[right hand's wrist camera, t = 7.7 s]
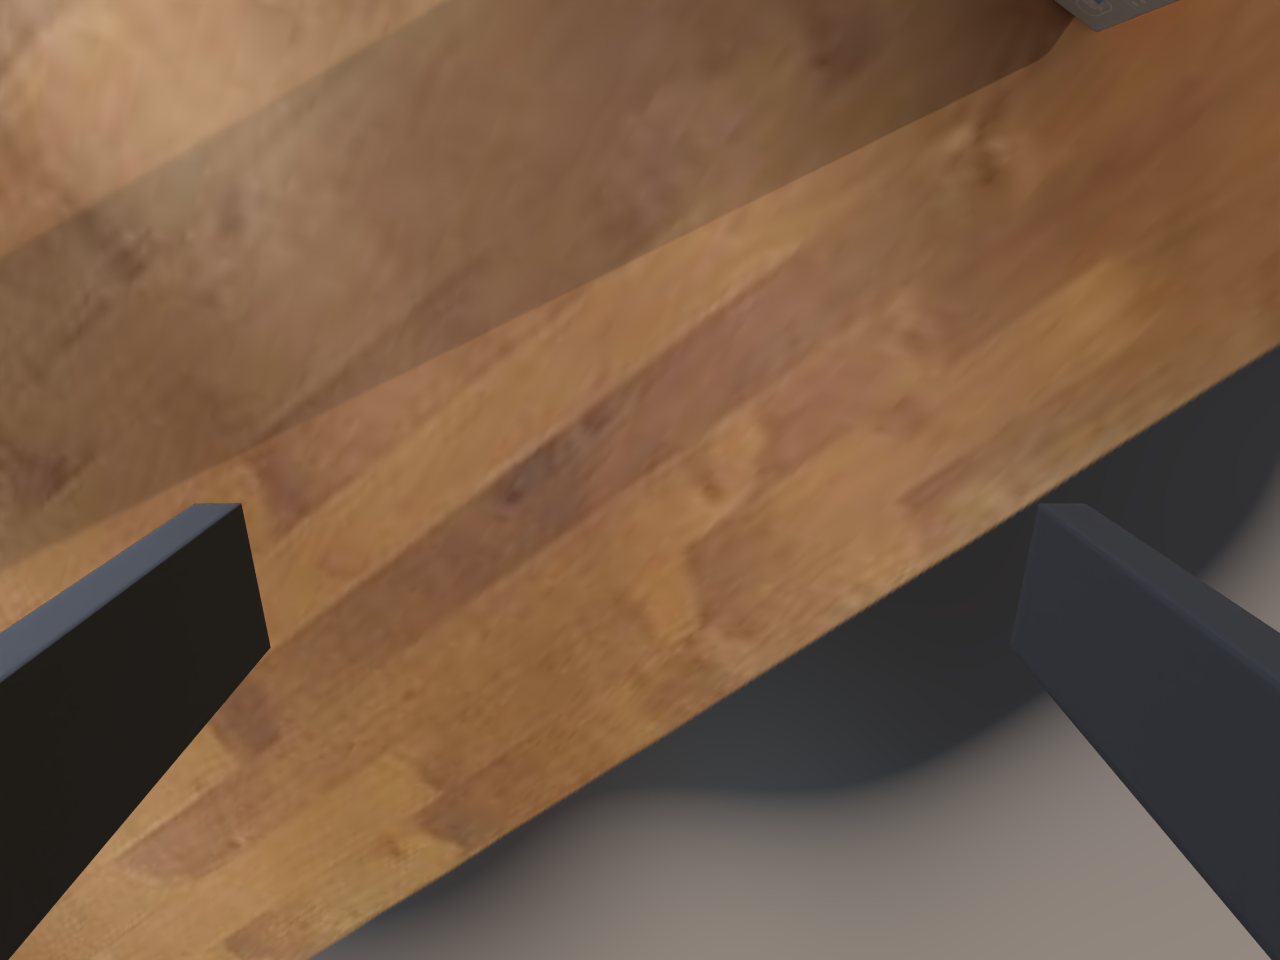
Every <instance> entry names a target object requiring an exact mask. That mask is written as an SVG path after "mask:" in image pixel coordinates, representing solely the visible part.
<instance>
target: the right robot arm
mask: <svg viewBox="0 0 1280 960" xmlns="http://www.w3.org/2000/svg"><path fill="white" fill-rule="evenodd" d="M269 649H270V642H269V637H268V633H267V628H266V623H265V618H264V613H263V608H262V603H261V598H260V593H259V588H258V583H257V578H256V574H255V569H254V564H253V559H252V554H251V549H250V544H249V539H248V534H247V529H246V524H245V519H244V515H243V510H242V505H241V504H193V505H192V506H190V507H189V508H187V509H186V510H184V511H183V512H181V513H180V514H178V515H177V516H175V517H174V518H172V519H171V520H169V521H168V522H166V523H165V524H163V525H162V526H160V527H159V528H157V529H156V530H154V531H153V532H151V533H150V534H148V535H147V536H145V537H144V538H142V539H141V540H139V541H138V542H136V543H135V544H133V545H132V546H130V547H129V548H127V549H126V550H124V551H123V552H121V553H120V554H118V555H117V556H115V557H114V558H112V559H111V560H109V561H108V562H106V563H105V564H103V565H102V566H100V567H99V568H97V569H96V570H94V571H93V572H91V573H90V574H88V575H87V576H85V577H84V578H82V579H81V580H79V581H78V582H76V583H75V584H73V585H72V586H70V587H69V588H67V589H66V590H64V591H63V592H61V593H60V594H58V595H57V596H55V597H54V598H52V599H51V600H49V601H48V602H46V603H45V604H43V605H42V606H40V607H39V608H37V609H36V610H34V611H33V612H31V613H30V614H28V615H27V616H25V617H24V618H22V619H21V620H19V621H18V622H16V623H15V624H13V625H12V626H10V627H9V628H7V629H6V630H4V631H3V632H1V633H0V960H9V958H10V957H11V956H12V955H13V954H14V952H15V951H16V950H17V949H18V948H19V947H20V945H21V944H22V943H23V942H24V941H25V939H26V938H27V937H28V936H29V935H30V933H31V932H32V931H33V930H34V929H35V927H36V926H37V925H38V924H39V923H40V921H41V920H42V919H43V918H44V917H45V916H46V914H47V913H48V912H49V911H50V910H51V908H52V907H53V906H54V905H55V904H56V902H57V901H58V900H59V899H60V898H61V896H62V895H63V894H64V893H65V892H66V891H67V889H68V888H69V887H70V886H71V885H72V883H73V882H74V881H75V880H76V879H77V877H78V876H79V875H80V874H81V873H82V871H83V870H84V869H85V868H86V867H87V865H88V864H89V863H90V862H91V861H92V860H93V858H94V857H95V856H96V855H97V854H98V852H99V851H100V850H101V849H102V848H103V846H104V845H105V844H106V843H107V842H108V840H109V839H110V838H111V837H112V836H113V835H114V833H115V832H116V831H117V830H118V829H119V827H120V826H121V825H122V824H123V823H124V821H125V820H126V819H127V818H128V817H129V815H130V814H131V813H132V812H133V811H134V809H135V808H136V807H137V806H138V805H139V804H140V802H141V801H142V800H143V799H144V798H145V796H146V795H147V794H148V793H149V792H150V790H151V789H152V788H153V787H154V786H155V784H156V783H157V782H158V781H159V780H160V779H161V777H162V776H163V775H164V774H165V773H166V771H167V770H168V769H169V768H170V767H171V765H172V764H173V763H174V762H175V761H176V759H177V758H178V757H179V756H180V755H181V753H182V752H183V751H184V750H185V749H186V748H187V746H188V745H189V744H190V743H191V742H192V740H193V739H194V738H195V737H196V736H197V734H198V733H199V732H200V731H201V730H202V728H203V727H204V726H205V725H206V724H207V723H208V721H209V720H210V719H211V718H212V717H213V715H214V714H215V713H216V712H217V711H218V709H219V708H220V707H221V706H222V705H223V703H224V702H225V701H226V700H227V699H228V697H229V696H230V695H231V694H232V693H233V692H234V690H235V689H236V688H237V687H238V686H239V684H240V683H241V682H242V681H243V680H244V678H245V677H246V676H247V675H248V674H249V672H250V671H251V670H252V669H253V668H254V666H255V665H256V664H257V663H258V662H259V661H260V659H261V658H262V657H263V656H264V655H265V653H266V652H267V651H268V650H269ZM1010 649H1011V650H1012V651H1013V652H1014V653H1015V654H1016V656H1017V657H1018V658H1019V659H1020V661H1021V662H1022V663H1023V664H1024V665H1025V666H1026V668H1027V669H1028V670H1029V671H1030V672H1031V674H1032V675H1033V676H1034V677H1035V678H1036V680H1037V681H1038V682H1039V683H1040V684H1041V685H1042V687H1043V688H1044V689H1045V690H1046V691H1047V693H1048V694H1049V695H1050V696H1051V697H1052V699H1053V700H1054V701H1055V702H1056V703H1057V705H1058V706H1059V707H1060V708H1061V709H1062V711H1063V712H1064V713H1065V714H1066V715H1067V716H1068V718H1069V719H1070V720H1071V721H1072V723H1073V724H1074V725H1075V726H1076V727H1077V728H1078V730H1079V731H1080V732H1081V733H1082V734H1083V736H1084V737H1085V738H1086V739H1087V740H1088V742H1089V743H1090V744H1091V745H1092V746H1093V748H1094V749H1095V750H1096V751H1097V752H1098V753H1099V755H1100V756H1101V757H1102V758H1103V759H1104V761H1105V762H1106V763H1107V764H1108V765H1109V767H1110V768H1111V769H1112V770H1113V771H1114V773H1115V774H1116V775H1117V776H1118V777H1119V779H1120V780H1121V781H1122V782H1123V783H1124V784H1125V786H1126V787H1127V788H1128V789H1129V790H1130V792H1131V793H1132V794H1133V795H1134V796H1135V798H1136V799H1137V800H1138V801H1139V802H1140V804H1141V805H1142V806H1143V807H1144V808H1145V809H1146V811H1147V812H1148V813H1149V814H1150V815H1151V817H1152V818H1153V819H1154V820H1155V821H1156V822H1157V824H1158V825H1159V826H1160V827H1161V829H1162V830H1163V831H1164V832H1165V833H1166V834H1167V836H1168V837H1169V838H1170V839H1171V840H1172V842H1173V843H1174V844H1175V845H1176V846H1177V848H1178V849H1179V850H1180V851H1181V852H1182V854H1183V855H1184V856H1185V857H1186V858H1187V860H1188V861H1189V862H1190V863H1191V864H1192V865H1193V867H1194V868H1195V869H1196V870H1197V871H1198V873H1199V874H1200V875H1201V876H1202V877H1203V878H1204V880H1205V881H1206V882H1207V883H1208V885H1209V886H1210V887H1211V888H1212V889H1213V891H1214V892H1215V893H1216V894H1217V895H1218V896H1219V898H1220V899H1221V900H1222V901H1223V902H1224V904H1225V905H1226V906H1227V907H1228V908H1229V910H1230V911H1231V912H1232V913H1233V914H1234V916H1235V917H1236V918H1237V919H1238V920H1239V921H1240V923H1241V924H1242V925H1243V926H1244V927H1245V929H1246V930H1247V931H1248V932H1249V933H1250V935H1251V936H1252V937H1253V938H1254V939H1255V941H1256V942H1257V943H1258V944H1259V945H1260V947H1261V948H1262V949H1263V950H1264V951H1265V952H1266V954H1267V955H1268V956H1269V957H1270V958H1271V960H1280V633H1279V632H1277V631H1276V630H1274V629H1273V628H1271V627H1270V626H1268V625H1267V624H1265V623H1264V622H1262V621H1261V620H1259V619H1258V618H1256V617H1255V616H1253V615H1252V614H1250V613H1249V612H1247V611H1246V610H1244V609H1243V608H1241V607H1240V606H1238V605H1237V604H1235V603H1234V602H1232V601H1231V600H1229V599H1228V598H1226V597H1225V596H1223V595H1222V594H1220V593H1219V592H1217V591H1216V590H1214V589H1213V588H1211V587H1210V586H1208V585H1207V584H1205V583H1204V582H1202V581H1201V580H1199V579H1198V578H1196V577H1195V576H1193V575H1192V574H1190V573H1189V572H1187V571H1186V570H1184V569H1183V568H1181V567H1180V566H1178V565H1177V564H1175V563H1174V562H1172V561H1171V560H1169V559H1168V558H1166V557H1165V556H1163V555H1162V554H1160V553H1159V552H1157V551H1156V550H1154V549H1153V548H1151V547H1150V546H1148V545H1147V544H1145V543H1144V542H1142V541H1141V540H1139V539H1138V538H1136V537H1135V536H1133V535H1132V534H1130V533H1129V532H1127V531H1126V530H1124V529H1123V528H1121V527H1120V526H1118V525H1117V524H1115V523H1114V522H1112V521H1111V520H1109V519H1108V518H1106V517H1105V516H1103V515H1102V514H1100V513H1099V512H1097V511H1096V510H1094V509H1093V508H1091V507H1090V506H1088V505H1087V504H1039V505H1038V510H1037V515H1036V519H1035V524H1034V530H1033V534H1032V539H1031V544H1030V549H1029V554H1028V559H1027V564H1026V569H1025V574H1024V579H1023V583H1022V588H1021V593H1020V598H1019V603H1018V608H1017V613H1016V618H1015V623H1014V628H1013V633H1012V637H1011V642H1010Z"/></svg>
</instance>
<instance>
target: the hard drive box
mask: <svg viewBox="0 0 1280 960" xmlns="http://www.w3.org/2000/svg"><path fill="white" fill-rule="evenodd" d="M1055 1H1056V2H1057V3H1059V4H1060V5H1061V6H1062V7H1064V8H1065V9H1066V10H1068V11H1069V12H1070V13H1071V14H1073V15H1074V16H1075V17H1077V18H1078V19H1079V20H1080V21H1082V22H1083V23H1084V24H1086V25H1087V26H1088V27H1090V28H1091V29H1093V30H1094V31H1096V32H1097V31H1101V30H1103V29H1106V28H1108V27H1111V26H1114V25H1117V24H1119V23H1122V22H1124V21H1127V20H1129V19H1132V18H1134V17H1137V16H1139V15H1142V14H1145V13H1148V12H1150V11H1153V10H1155V9H1158V8H1160V7H1163V6H1165V5H1168V4H1171V3H1173V2H1176V1H1178V0H1055Z"/></svg>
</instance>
